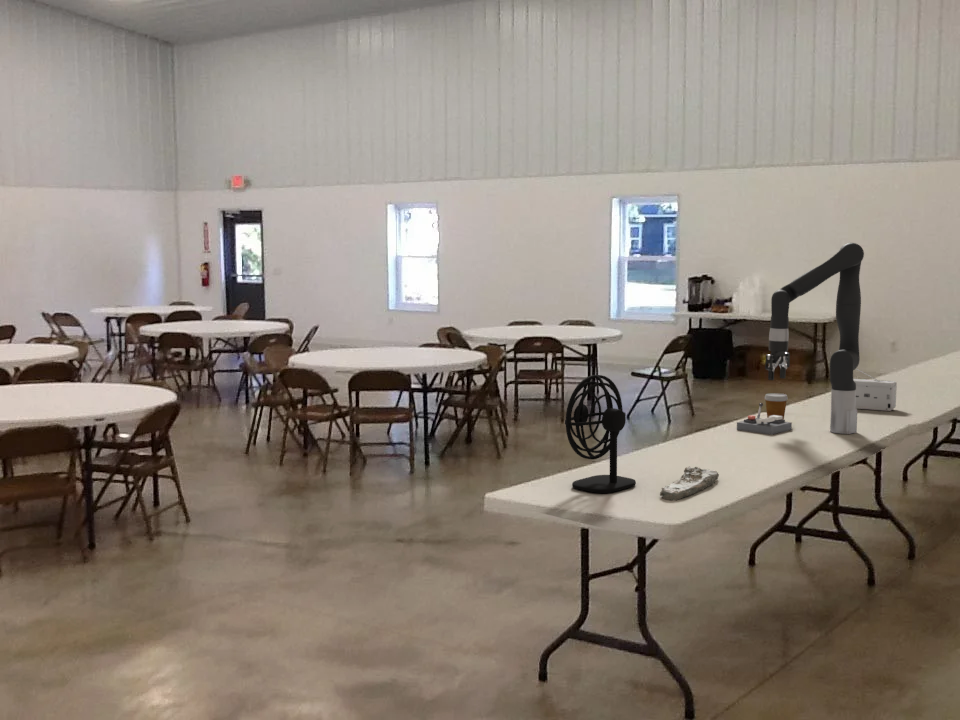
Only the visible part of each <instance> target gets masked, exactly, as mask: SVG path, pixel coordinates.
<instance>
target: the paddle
mask: <svg viewBox="0 0 960 720" xmlns="http://www.w3.org/2000/svg"><path fill="white" fill-rule="evenodd" d="M770 417H774V420H781V419H783V416H778V415H772V416H769V418H770Z"/></svg>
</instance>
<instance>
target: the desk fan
mask: <svg viewBox="0 0 960 720" xmlns="http://www.w3.org/2000/svg"><path fill="white" fill-rule="evenodd" d="M592 379H593V380H594V379H596V380H598V381H593V380H592ZM591 380H592V381H591ZM603 380H604V381H605V382H604V381H603ZM606 382H607V383H606ZM589 385H590V386H589ZM588 386H589V387H588ZM598 386H599V387H600V388H601V389H602V390H603V393H604V394H601V395H599V396H598V397H597V395H596V394H594V393H593V392H591V391H592V390H593V389H594V388H596V387H598ZM607 387H608V388H610V390H611V391H612V392H613V394H614V395H615V396H613V395H612V394H610V392H609V390H608V389H607ZM581 390H582V392H580V391H581ZM588 394H589V395H591V396H592V397H593V398H594V399H595V400H594V401H593V403H592V405H591V408H590V411H589V409H588V407H587V405H586V404H584V401H585V399H586V397H587V396H588ZM604 397H605V403H606V409H605V410H604V411H602V407H601V406H602V405H601V402H600V400H601V399H602V398H604ZM579 398H580V399H579ZM578 399H579V401H578V405H577V406H576V407H575V409H574V405H575V404H576V402H577V400H578ZM613 401H614V402H615V403H616V406H617V408H614V405H613ZM596 405H597V406H598V412H594V409H595V407H596ZM573 409H574V412H573ZM572 413H573V416H572ZM597 416H598V418H597V420H594V421H592V418H593V417H597ZM626 418H627V417H626V412H624V410H623V403H622V398H621V394H620V391H619V388H618V386H616V384H615V382H614V381H613V380H612V379H610V378H609V377H607V376H605V375H602V374H592V375H589V376H587V377H584V378H583V379H582V380H581V381H580V382H579V383H578V384H577V385H576V387H575V388H574V390H573V391H572V393H571V396H570V398H569V401H568V403H567V408H566V413H565V420H564V424H565V432H566V435H567V439H568V442H569V445H570V447H571V449H572V450H573V451H574V452H575V454H576V455H577V456H579V457H580V458H583V459H585V460H597V459H600V458H602V457H603V456H605V455H606V454H607V453H608V452H609V474H597V475H593V476H588V477H585V478H581V479H580V478H579V479H577V480H574V481H573V482H572V484H571V486H572V488H574V489H575V490H580V491H585V492H590V493H598V494H607V493H614V492H619V491H622V490H625V489H629V488H632V487H634V486H636V484H637V483H636V480H635V479H633V478H630V477H626V476H621V475H618V438H619V434H620V432H621V431H623V429H624V428H625V426H626V422H627V421H626V420H627V419H626ZM572 421H573V422H572ZM600 424H601V425H602V428H603V429H604V431H605V433H604V434H603V436H602V438H601V439H600V440H599V439H598V438H597V437H596V435H595V434H596V432H597V430H598V428H599V427H600ZM592 425H595V428H594V430H593V428H592V427H593V426H592ZM573 426H574V427H575V430H574V428H573ZM584 426H588V428H589V432H590V434H589V435H588V436H585V431H584V430H585V429H584ZM573 436H574V437H575V438H577V439H578V441H579V443H580V445H581V446H582V447H581V446H579V445H578V444H577V442H576V440H575V439H574V437H573ZM591 438H593V439H594V440H595V441H596V442H597V444H595V446H593V447H589V446H588V444H587V440H588V439H591ZM601 446H603V447H602V448H601V449H598V448H600V447H601ZM597 449H598V450H597ZM582 452H586V453H587V455H586V454H583V453H582ZM592 453H595V454H596V455H594V454H592Z"/></svg>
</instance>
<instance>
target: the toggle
mask: <svg viewBox="0 0 960 720" xmlns="http://www.w3.org/2000/svg"><path fill="white" fill-rule="evenodd" d="M758 405H759V407H758V411H757V416H756V418H758V419H759V418H761V417H760V416H761V413H762V409H763V406H764V404H763V402H760V403H758Z"/></svg>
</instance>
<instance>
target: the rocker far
mask: <svg viewBox="0 0 960 720" xmlns="http://www.w3.org/2000/svg"><path fill="white" fill-rule="evenodd" d="M772 421H775V420H774V417H770V418H767V417H766V418H765V417H764V418H762V419H758V420H756V422H757V424H759V423H761V422H764V423H766V422H772Z"/></svg>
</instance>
